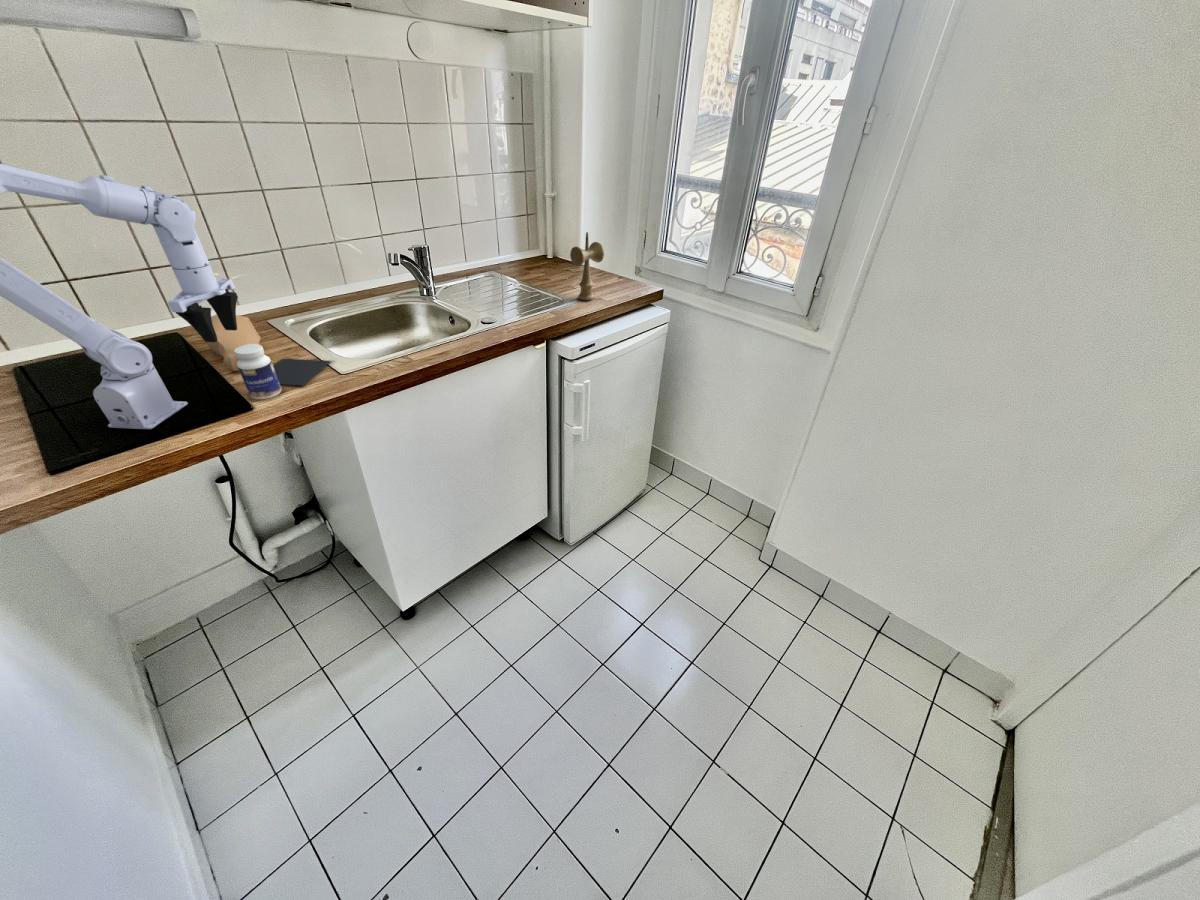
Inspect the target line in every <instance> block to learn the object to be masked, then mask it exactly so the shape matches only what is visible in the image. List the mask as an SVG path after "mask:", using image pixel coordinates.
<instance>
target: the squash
mask: <svg viewBox="0 0 1200 900" xmlns="http://www.w3.org/2000/svg"><path fill="white" fill-rule="evenodd" d="M211 320H212V324H213V327H214V330H215V333H216V335H217V341H216V342H205V344H206V345H207V347H208V348H209V349H210V350H211V351H212V352H214V353H215V354H217V355H219V356H221V357H223V359H222V362H223V364H224V366H225V367H226V368H228V369H229V370H231V371H234V372H237V371H238V372H240V371H239V369H238V367H237V362H238V360H239V358H237V357H236V355H235V352H234V350H235V349H236V348H237V347H240V346H243V345H247V344H259V345H260V341H261V338H262V337H261V336H260V334H259V333H258V332H257V330H256V328H255V326H254V325H253V323H252V321H251V320H250V318H249V317H247V316H243V315H239V314H236V322H237V330H235V331H234V330H225V328H224V327H223V325H222V324H221V322H220V320H219V318H218V316H217V314H214V315H211Z"/></svg>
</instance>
